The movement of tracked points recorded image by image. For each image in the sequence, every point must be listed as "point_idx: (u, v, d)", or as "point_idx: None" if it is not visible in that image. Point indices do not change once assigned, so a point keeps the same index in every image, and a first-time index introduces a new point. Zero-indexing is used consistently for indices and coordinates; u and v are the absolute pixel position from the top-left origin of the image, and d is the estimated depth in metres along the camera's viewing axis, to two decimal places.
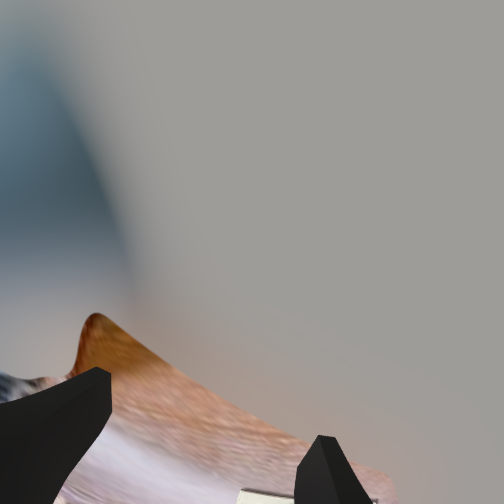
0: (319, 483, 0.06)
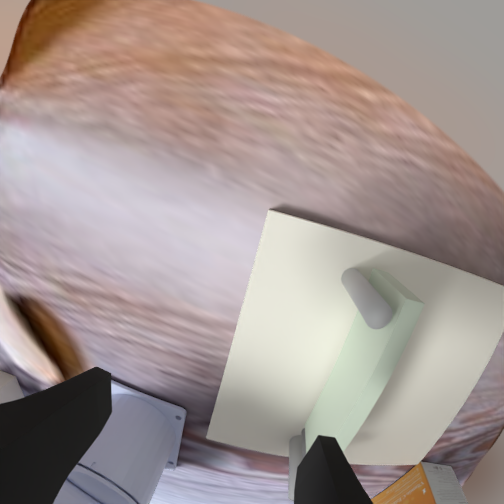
0: (320, 483, 0.06)
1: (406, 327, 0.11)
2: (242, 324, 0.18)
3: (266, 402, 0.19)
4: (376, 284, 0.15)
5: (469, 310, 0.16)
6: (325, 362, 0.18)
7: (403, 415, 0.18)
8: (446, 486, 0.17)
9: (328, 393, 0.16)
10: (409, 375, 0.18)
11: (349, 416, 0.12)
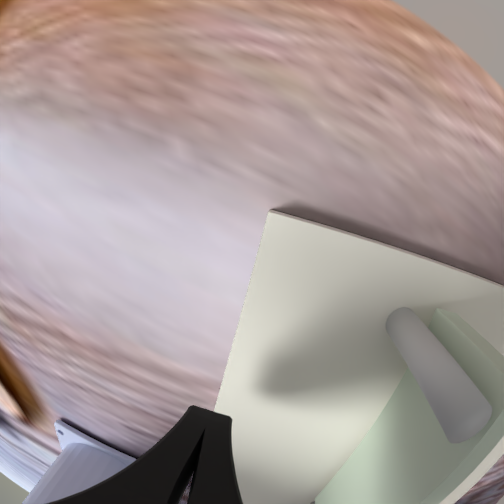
0: (198, 460, 0.07)
1: (501, 428, 0.04)
2: (228, 389, 0.11)
3: (264, 475, 0.12)
4: (445, 339, 0.08)
5: None
6: (349, 434, 0.11)
7: None
8: None
9: (351, 477, 0.10)
10: None
11: None
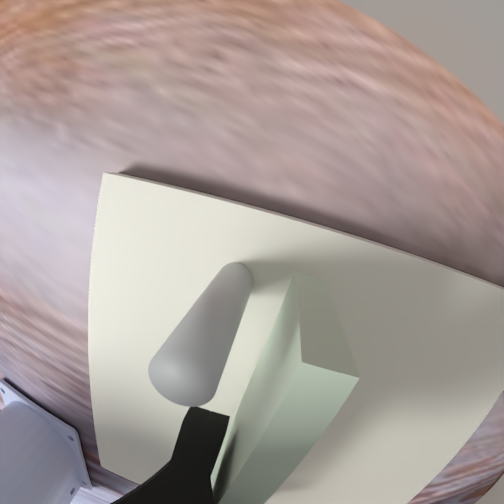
0: None
1: (305, 422, 0.04)
2: (93, 339, 0.11)
3: (149, 442, 0.12)
4: (288, 303, 0.08)
5: (465, 338, 0.09)
6: (214, 407, 0.11)
7: (353, 479, 0.12)
8: None
9: (218, 456, 0.10)
10: (359, 433, 0.11)
11: None
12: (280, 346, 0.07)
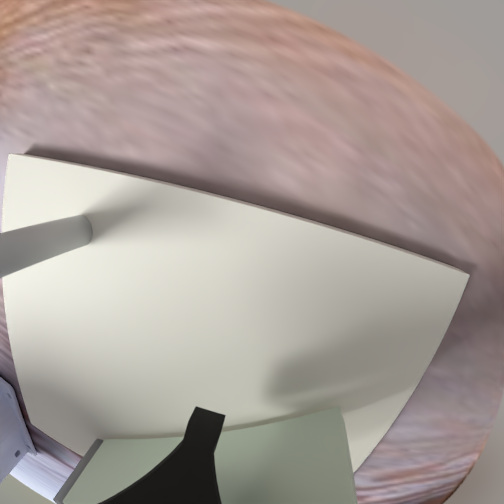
0: None
1: None
2: (6, 290, 0.12)
3: (53, 393, 0.13)
4: (327, 433, 0.09)
5: (331, 304, 0.10)
6: (85, 355, 0.12)
7: None
8: None
9: (155, 455, 0.10)
10: (221, 406, 0.11)
11: None
12: (315, 468, 0.07)
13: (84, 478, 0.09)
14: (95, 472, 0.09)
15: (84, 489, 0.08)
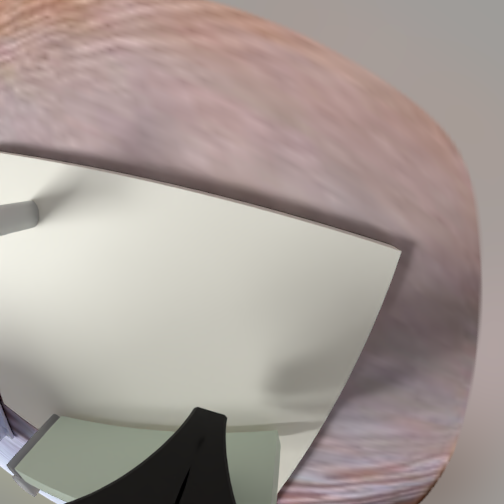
0: None
1: None
2: None
3: (17, 370, 0.13)
4: (260, 454, 0.09)
5: (238, 279, 0.10)
6: (37, 330, 0.12)
7: None
8: None
9: (104, 440, 0.11)
10: (149, 381, 0.11)
11: None
12: (242, 484, 0.08)
13: (37, 450, 0.09)
14: (48, 446, 0.10)
15: (35, 460, 0.08)
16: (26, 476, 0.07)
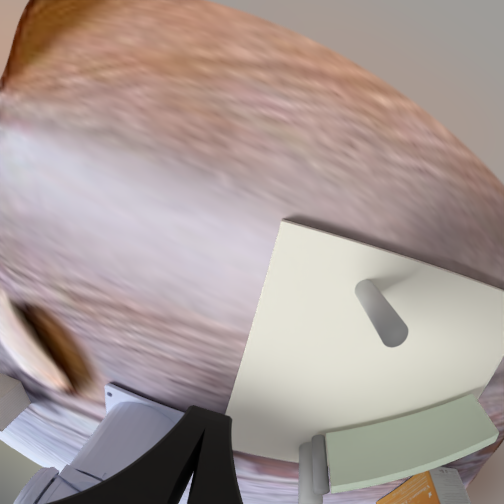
0: (198, 460, 0.07)
1: (484, 444, 0.12)
2: (254, 336, 0.17)
3: (277, 411, 0.19)
4: (473, 405, 0.15)
5: (479, 319, 0.16)
6: (337, 372, 0.17)
7: None
8: (451, 489, 0.17)
9: (384, 433, 0.16)
10: (419, 383, 0.17)
11: (418, 467, 0.13)
12: (476, 419, 0.14)
13: (336, 464, 0.15)
14: (343, 457, 0.15)
15: (344, 470, 0.14)
16: (346, 485, 0.13)
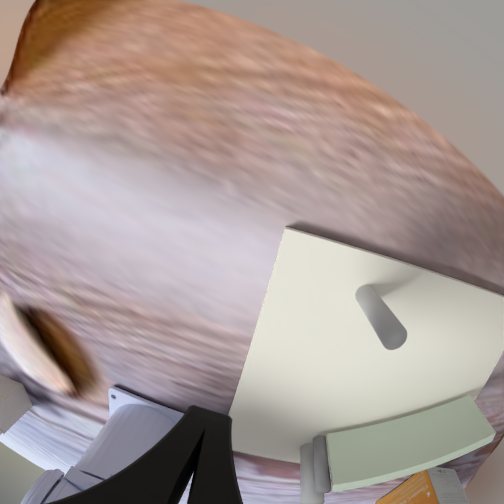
0: (198, 460, 0.07)
1: (481, 444, 0.12)
2: (258, 339, 0.18)
3: (279, 412, 0.19)
4: (470, 406, 0.16)
5: (476, 323, 0.16)
6: (337, 374, 0.18)
7: None
8: (449, 489, 0.17)
9: (383, 433, 0.17)
10: (417, 385, 0.18)
11: (417, 466, 0.13)
12: (473, 420, 0.14)
13: (337, 463, 0.15)
14: (343, 456, 0.16)
15: (345, 469, 0.15)
16: (347, 483, 0.14)
